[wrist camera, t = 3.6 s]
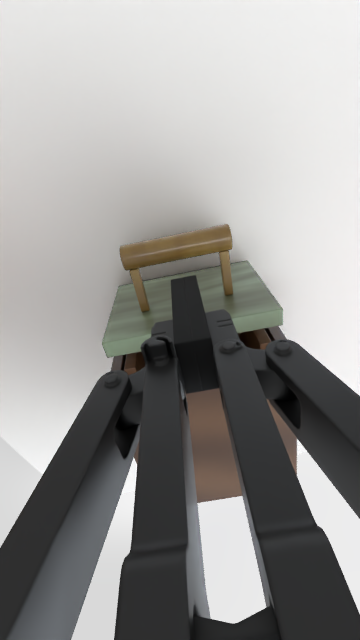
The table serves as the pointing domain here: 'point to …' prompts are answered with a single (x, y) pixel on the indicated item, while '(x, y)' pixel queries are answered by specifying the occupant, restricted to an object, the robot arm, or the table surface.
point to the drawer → (214, 284)
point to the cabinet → (218, 439)
